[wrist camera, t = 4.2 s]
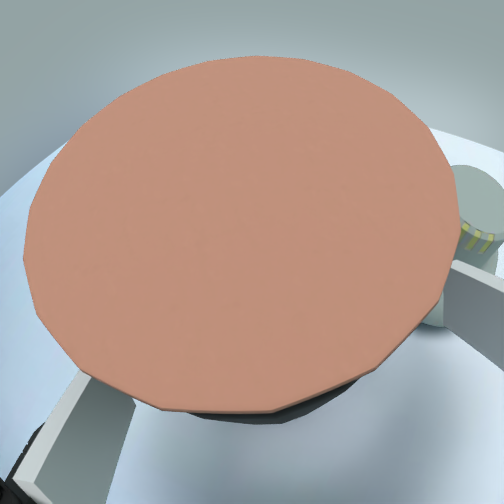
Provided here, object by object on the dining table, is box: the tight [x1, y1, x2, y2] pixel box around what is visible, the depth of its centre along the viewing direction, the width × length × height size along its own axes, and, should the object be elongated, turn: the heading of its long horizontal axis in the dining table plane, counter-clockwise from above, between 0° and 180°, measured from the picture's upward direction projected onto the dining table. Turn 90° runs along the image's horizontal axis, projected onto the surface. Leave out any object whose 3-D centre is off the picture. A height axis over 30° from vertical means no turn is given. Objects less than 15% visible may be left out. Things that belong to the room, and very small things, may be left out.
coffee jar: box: [23, 56, 461, 424], centre depth 15 cm, size 11×11×18 cm
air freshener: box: [422, 165, 504, 327], centre depth 20 cm, size 11×8×10 cm
